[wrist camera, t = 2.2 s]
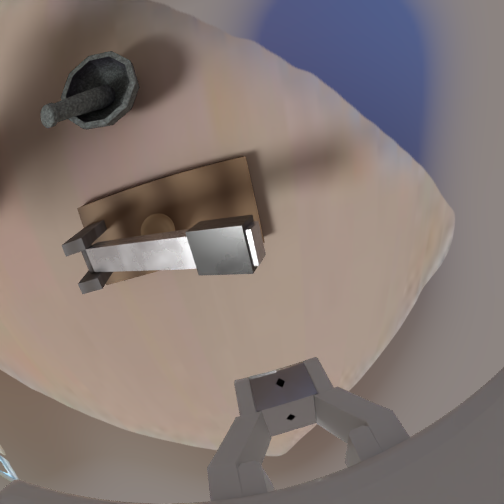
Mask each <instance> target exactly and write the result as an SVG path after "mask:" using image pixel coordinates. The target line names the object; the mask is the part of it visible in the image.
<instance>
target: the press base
mask: <svg viewBox="0 0 504 504" xmlns="http://www.w3.org/2000/svg"><path fill="white" fill-rule="evenodd" d="M78 212H79V215H80V218H81V221H82V224H83V227H84V228H83V229H82V230H81V231H79V232H78V233H77V234H76V235H74V236H73V237H72V238H70V239H69V240H68V241H67V242H65V243H64V244H63V245H62V247H63V250H64V253H65V255H66V256H69V255H72V254H74V253H77V252H80V251H81V252H82V255H83V257H84V259H85V262H86V264H87V267H88V269H89V271H88V272H87V273H86V275H85V276H84V277H83V278H82V279H81V281H80V282H79V283H78V285H79V287H80V289H81V291H82V294H85V293H89V292H92V291H96V290H100V289H103V287H104V285H105V284H106V285H109V284H113V283H116V282H120V281H124V280H127V279H131V278H134V277H138V276H142V275H145V274H149V273H153V272H156V271H160V270H148V271H117V272H94V269H93V267H92V265H91V262H90V260H89V257H88V255H87V252H86V249H87V248H88V247H90V246H92V245H93V244H95V243H97V242H102V241H109V240H115V239H122V238H129V237H135V236H141V226H142V224H143V222H144V220H145V219H146V218H147V217H149V216H150V215H152V214H157V213H160V214H164V215H166V216H168V217H169V218H170V219H171V220H172V221H173V223H174V226H175V231H178V230H186V229H190V228H192V227H193V226H194V225H196V224H197V223H198V222H200V221H205V220H213V219H220V218H228V217H236V216H244V215H253V219H254V221H259V225H260V230H261V235H262V239H263V243H265V242H264V237H263V233H262V228H261V223H260V219H259V214H258V210H257V205H256V200H255V196H254V191H253V187H252V182H251V178H250V173H249V169H248V164H247V160H246V156H242V157H238V158H234V159H230V160H225V161H221V162H217V163H213V164H209V165H206V166H202V167H198V168H194V169H191V170H187V171H184V172H180V173H177V174H173V175H170V176H167V177H163V178H160V179H157V180H154V181H151V182H147V183H144V184H141V185H138V186H135V187H132V188H129V189H126V190H124V191H121V192H118V193H115V194H112V195H110V196H107V197H104V198H101V199H99V200H96V201H94V202H91V203H88V204H86V205H83V206H81V207H80V208H78Z"/></svg>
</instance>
